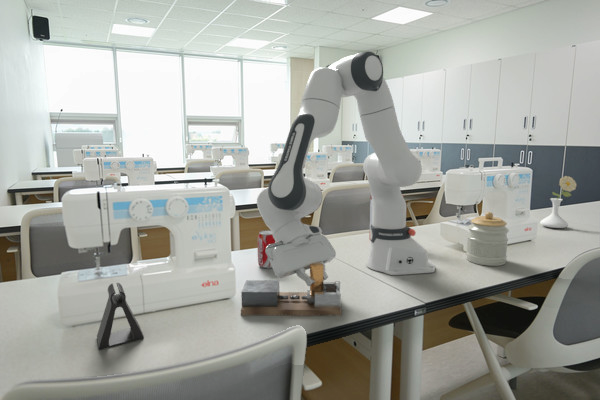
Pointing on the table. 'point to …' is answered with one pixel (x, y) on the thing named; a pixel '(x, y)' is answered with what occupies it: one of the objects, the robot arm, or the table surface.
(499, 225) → the jar
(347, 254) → the table surface
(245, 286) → the chain housing
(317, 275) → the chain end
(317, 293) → the keeper
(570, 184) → the flower in vase
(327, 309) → the rail board
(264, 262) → the soda can
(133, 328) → the black triangular stand
